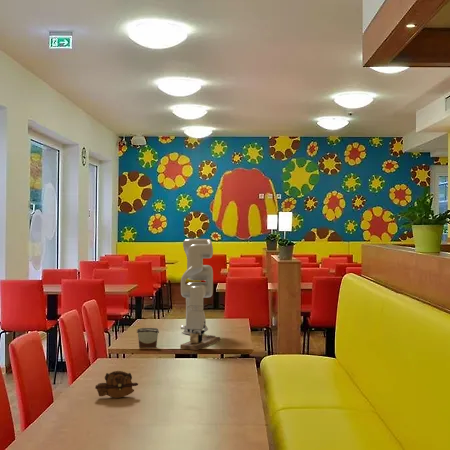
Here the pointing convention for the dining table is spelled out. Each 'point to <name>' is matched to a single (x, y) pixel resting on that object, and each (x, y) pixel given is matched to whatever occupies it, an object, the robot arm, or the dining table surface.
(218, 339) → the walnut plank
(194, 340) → the beige rectangular block
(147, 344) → the food container
